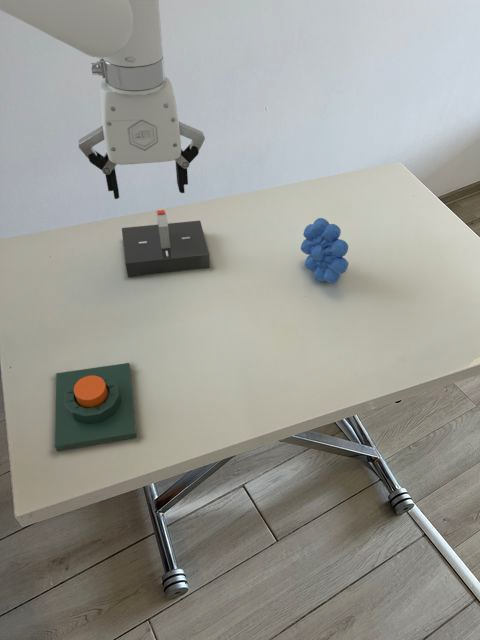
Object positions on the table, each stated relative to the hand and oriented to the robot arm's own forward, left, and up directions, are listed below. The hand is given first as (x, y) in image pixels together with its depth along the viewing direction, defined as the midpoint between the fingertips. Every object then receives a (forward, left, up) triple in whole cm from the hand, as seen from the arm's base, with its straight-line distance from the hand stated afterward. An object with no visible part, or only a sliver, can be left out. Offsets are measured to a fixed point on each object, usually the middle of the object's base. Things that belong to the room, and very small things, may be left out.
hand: (149, 191), depth 80 cm
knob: (+2, +4, -12) cm, 13 cm away
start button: (-11, -27, -13) cm, 32 cm away
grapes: (+28, -7, -15) cm, 32 cm away
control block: (-11, -27, -15) cm, 33 cm away
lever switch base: (+2, +4, -15) cm, 16 cm away
